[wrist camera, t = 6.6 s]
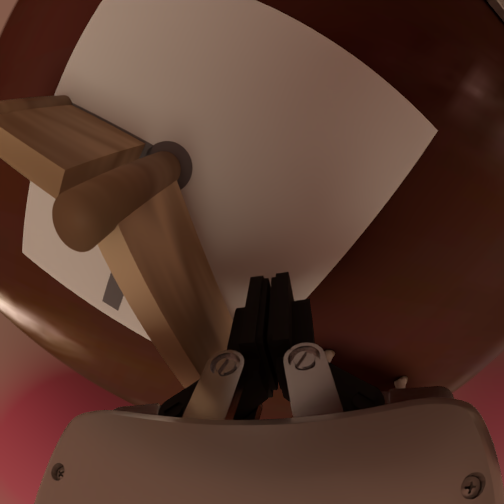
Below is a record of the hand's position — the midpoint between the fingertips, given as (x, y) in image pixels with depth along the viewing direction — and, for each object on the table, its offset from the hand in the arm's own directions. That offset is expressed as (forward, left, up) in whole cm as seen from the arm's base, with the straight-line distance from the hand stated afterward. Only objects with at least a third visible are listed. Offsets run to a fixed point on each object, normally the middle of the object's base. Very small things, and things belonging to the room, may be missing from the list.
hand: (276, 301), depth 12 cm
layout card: (-1, -7, -2) cm, 7 cm away
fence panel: (+1, -4, -1) cm, 4 cm away
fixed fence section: (-2, -11, -2) cm, 12 cm away
